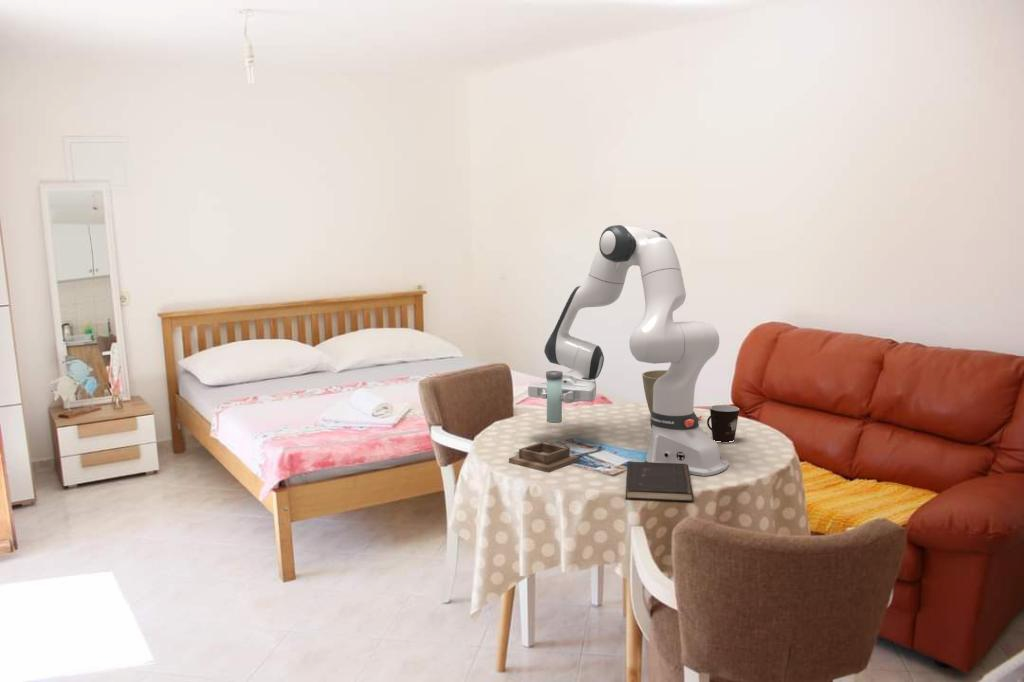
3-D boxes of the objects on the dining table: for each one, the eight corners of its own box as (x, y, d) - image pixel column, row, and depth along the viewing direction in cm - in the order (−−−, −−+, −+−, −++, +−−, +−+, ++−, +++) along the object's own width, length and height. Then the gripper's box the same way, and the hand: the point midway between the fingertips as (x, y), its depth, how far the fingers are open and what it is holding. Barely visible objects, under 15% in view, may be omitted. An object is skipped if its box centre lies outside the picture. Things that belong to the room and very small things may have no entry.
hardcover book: (625, 499, 205) (625, 490, 204) (627, 469, 227) (627, 461, 227) (692, 502, 202) (693, 493, 202) (688, 472, 225) (688, 463, 224)
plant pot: (635, 417, 286) (636, 371, 284) (677, 415, 289) (678, 369, 286) (650, 428, 272) (651, 379, 269) (693, 426, 274) (695, 377, 272)
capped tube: (565, 421, 247) (565, 372, 245) (555, 424, 244) (555, 374, 242) (552, 418, 251) (552, 370, 248) (542, 421, 247) (542, 372, 245)
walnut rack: (579, 460, 237) (579, 447, 236) (548, 472, 226) (548, 458, 226) (540, 451, 246) (540, 439, 245) (509, 462, 235) (508, 449, 235)
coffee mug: (729, 435, 262) (730, 404, 261) (743, 443, 254) (744, 410, 252) (694, 438, 259) (695, 406, 258) (707, 445, 251) (708, 412, 250)
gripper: (536, 375, 261) (520, 383, 249) (600, 379, 254) (586, 388, 241) (536, 395, 262) (520, 404, 250) (600, 400, 255) (586, 410, 242)
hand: (553, 396), depth 245 cm, fingers closed on capped tube, 4 cm apart
